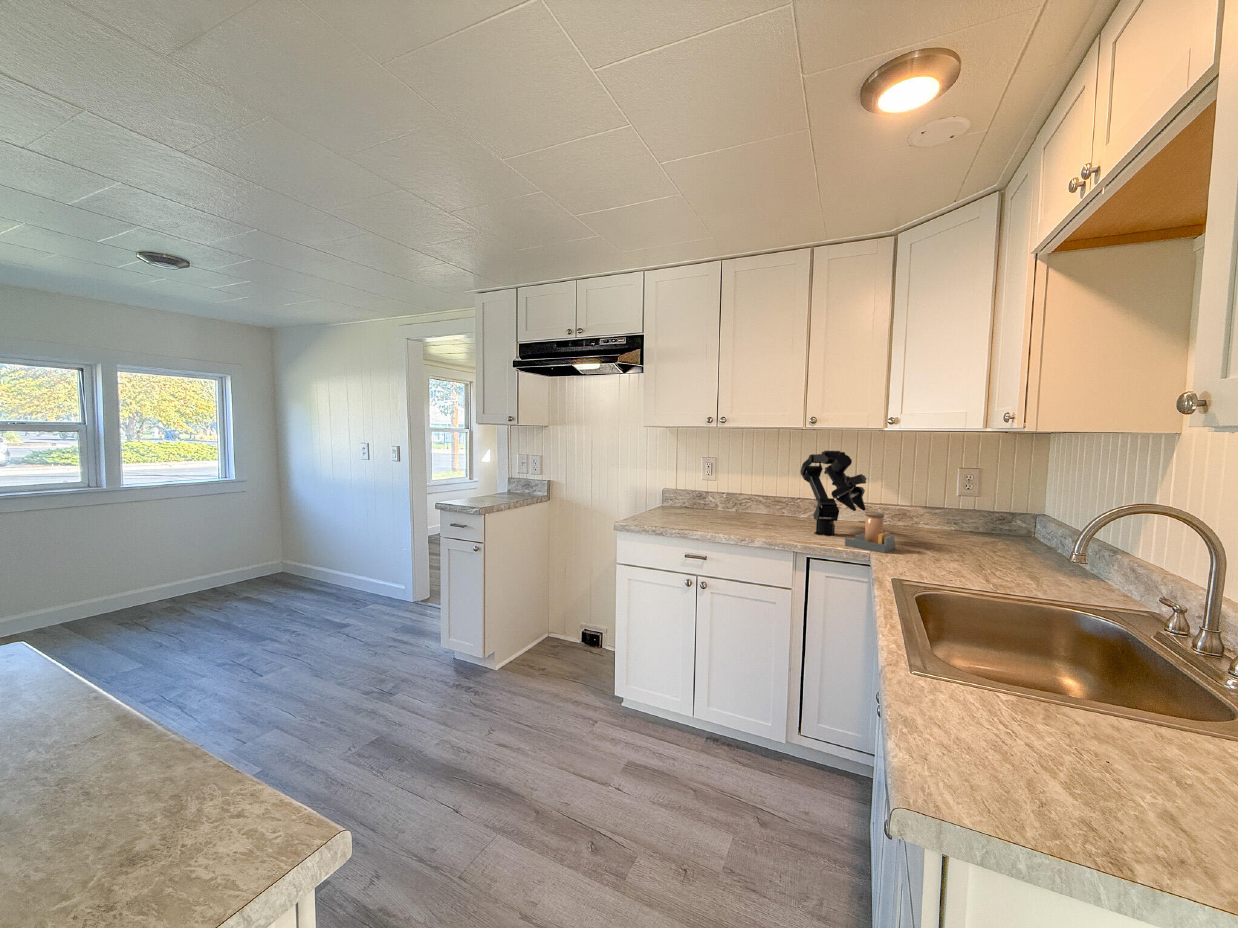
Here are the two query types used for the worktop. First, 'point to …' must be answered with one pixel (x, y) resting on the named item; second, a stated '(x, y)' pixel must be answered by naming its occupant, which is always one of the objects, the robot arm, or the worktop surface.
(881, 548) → the tray
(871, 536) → the terracotta jar
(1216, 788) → the worktop surface
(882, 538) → the block
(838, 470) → the robot arm
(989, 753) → the worktop surface
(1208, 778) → the worktop surface
